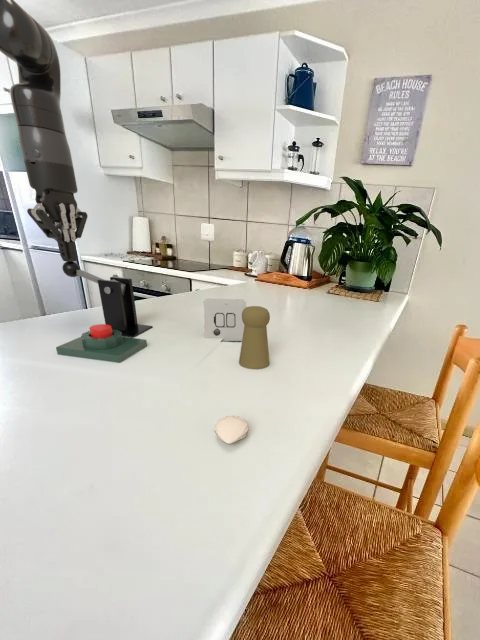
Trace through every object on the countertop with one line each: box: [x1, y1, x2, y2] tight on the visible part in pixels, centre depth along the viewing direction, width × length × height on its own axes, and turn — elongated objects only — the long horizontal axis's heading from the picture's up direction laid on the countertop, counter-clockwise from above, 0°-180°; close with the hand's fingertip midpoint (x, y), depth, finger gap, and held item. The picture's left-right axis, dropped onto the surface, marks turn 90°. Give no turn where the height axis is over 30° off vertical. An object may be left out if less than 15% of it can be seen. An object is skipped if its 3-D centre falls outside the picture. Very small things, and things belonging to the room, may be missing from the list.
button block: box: [55, 329, 148, 364], centre depth 61 cm, size 12×9×4 cm
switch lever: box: [61, 261, 126, 296], centre depth 68 cm, size 13×3×3 cm, turn 82°
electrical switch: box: [203, 297, 247, 342], centre depth 73 cm, size 9×5×9 cm, turn 102°
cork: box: [238, 305, 271, 370], centre depth 61 cm, size 6×6×11 cm
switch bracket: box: [97, 276, 154, 338], centre depth 70 cm, size 10×8×12 cm
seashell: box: [213, 415, 249, 445], centre depth 40 cm, size 4×5×2 cm
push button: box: [88, 323, 113, 338], centre depth 60 cm, size 4×4×2 cm
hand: (69, 261), depth 67 cm, fingers closed
